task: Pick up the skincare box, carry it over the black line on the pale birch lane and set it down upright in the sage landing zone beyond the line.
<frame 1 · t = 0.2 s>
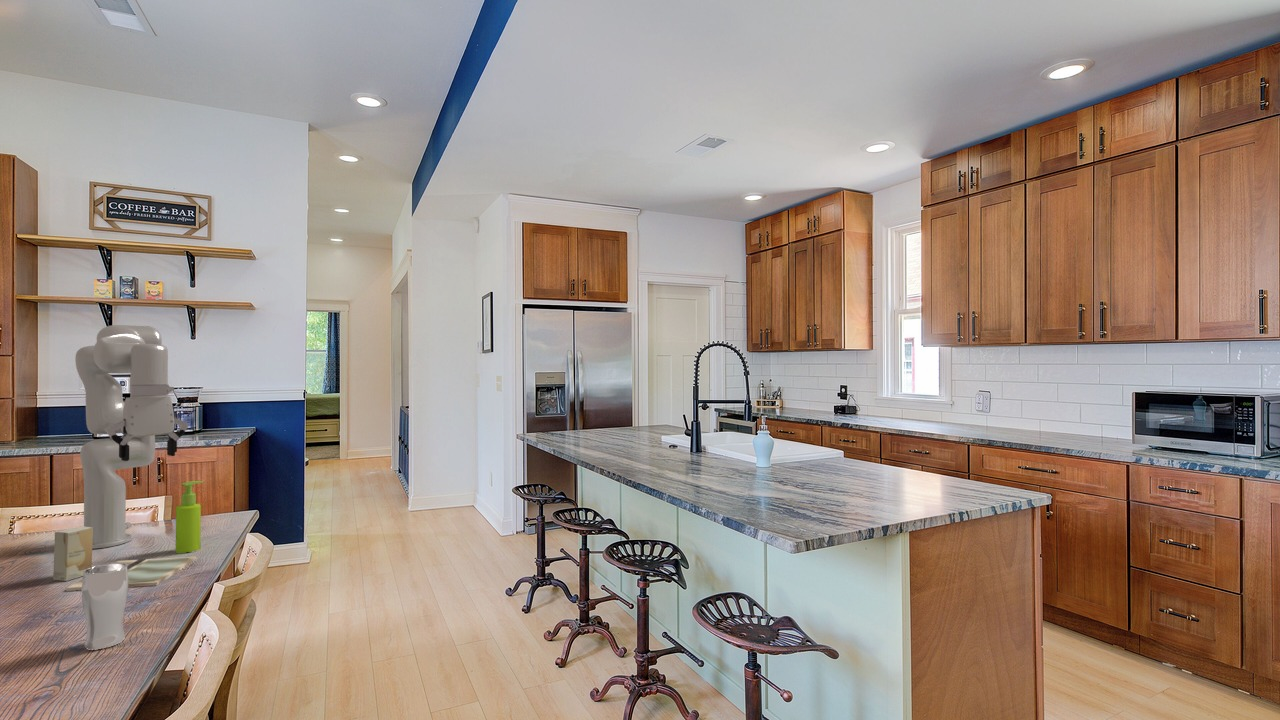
hand: (148, 457, 157), 31 cm above the table, tool pointing down, fingers open, 9 cm apart
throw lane: (136, 574, 159), on the table
beer glass: (105, 644, 120), on the table
skincare box: (73, 577, 156), on the table
soap dispenser: (189, 550, 179), on the table
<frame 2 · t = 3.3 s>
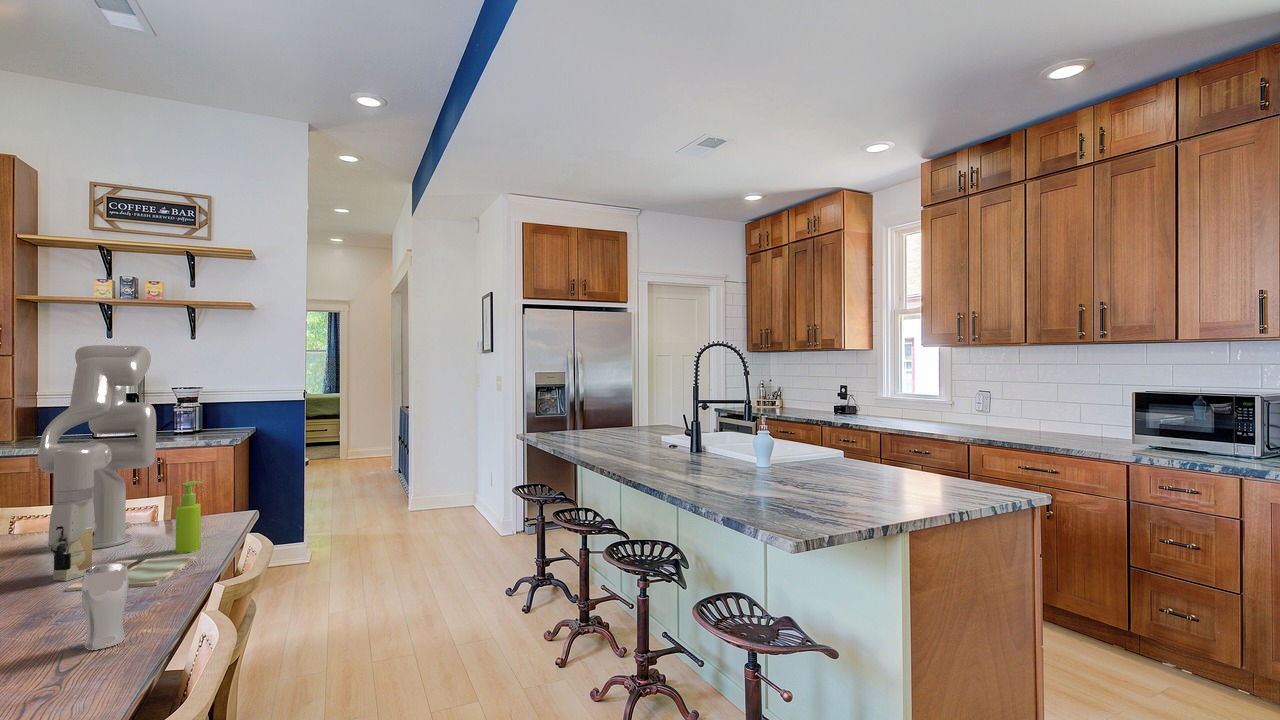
hand: (73, 564, 156), 3 cm above the table, tool pointing down, fingers closed on skincare box, 7 cm apart
skincare box: (73, 577, 156), on the table, touching gripper
everything else where it was.
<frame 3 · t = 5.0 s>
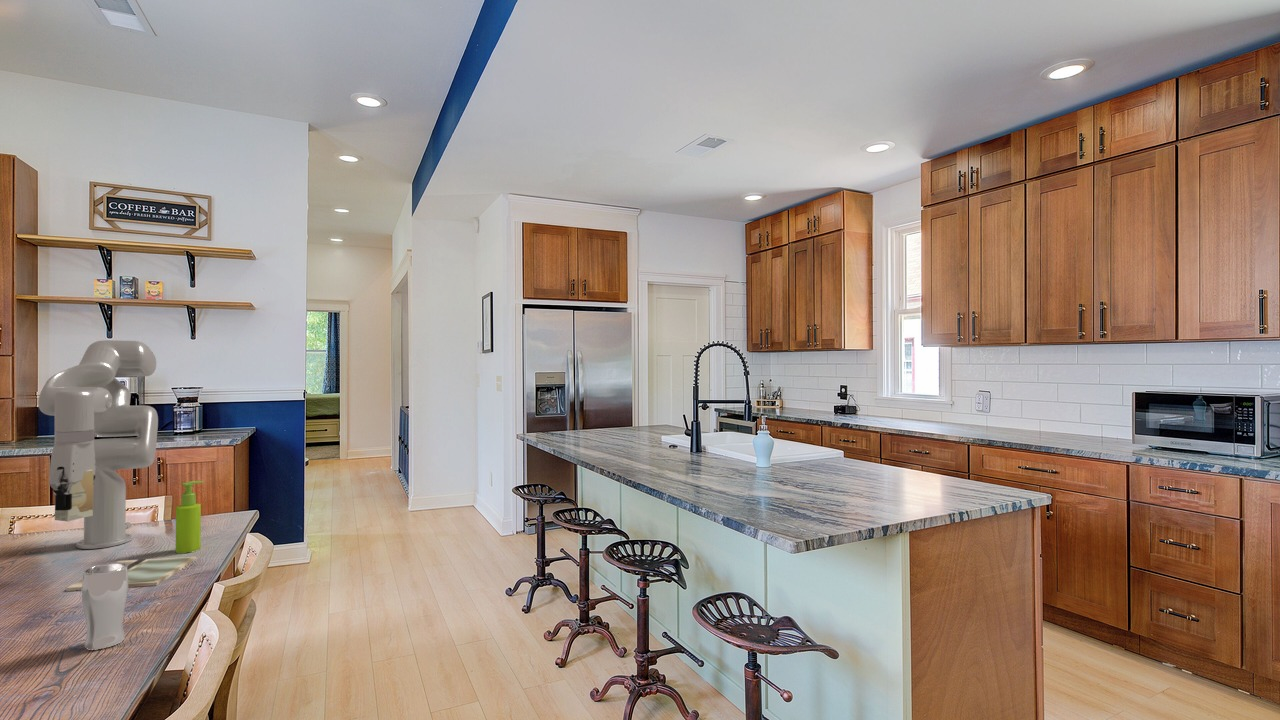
hand: (74, 505, 157), 18 cm above the table, tool pointing down, fingers closed on skincare box, 7 cm apart
skincare box: (74, 518, 157), point 15 cm above the table, touching gripper
everything else where it was.
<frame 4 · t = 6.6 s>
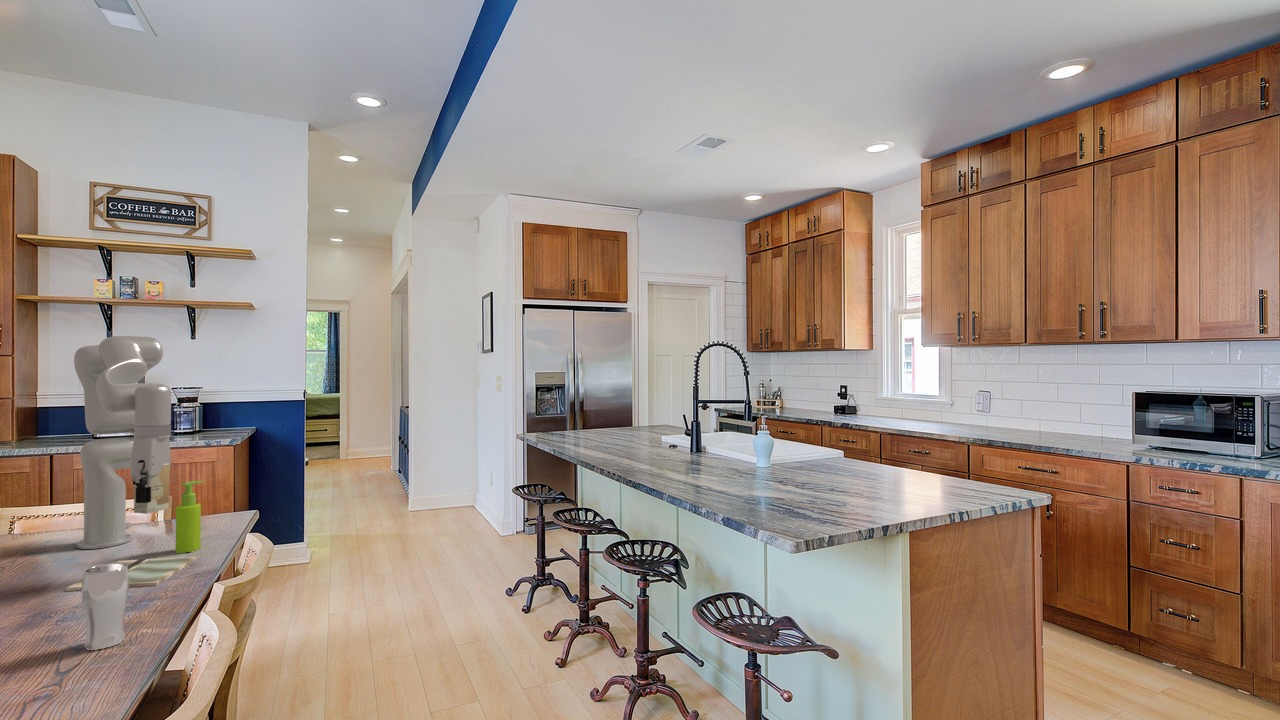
hand: (152, 498, 160), 19 cm above the table, tool pointing down, fingers closed on skincare box, 7 cm apart
skincare box: (152, 511, 160), point 16 cm above the table, touching gripper
everything else where it was.
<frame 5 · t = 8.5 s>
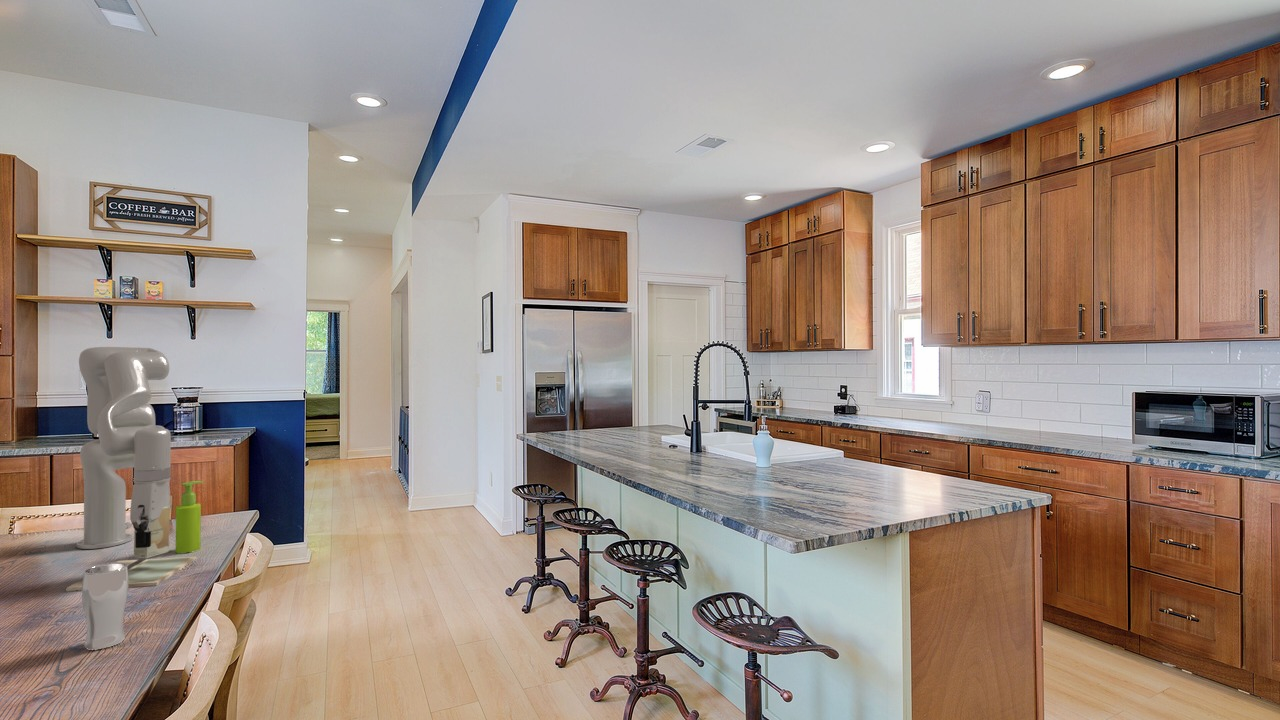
hand: (151, 542, 160), 8 cm above the table, tool pointing down, fingers closed on skincare box, 7 cm apart
skincare box: (151, 555, 160), point 4 cm above the table, touching gripper
everything else where it was.
when the fingers open (5 cm above the table, at t = 10.0 s): skincare box drops 1 cm, resting on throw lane.
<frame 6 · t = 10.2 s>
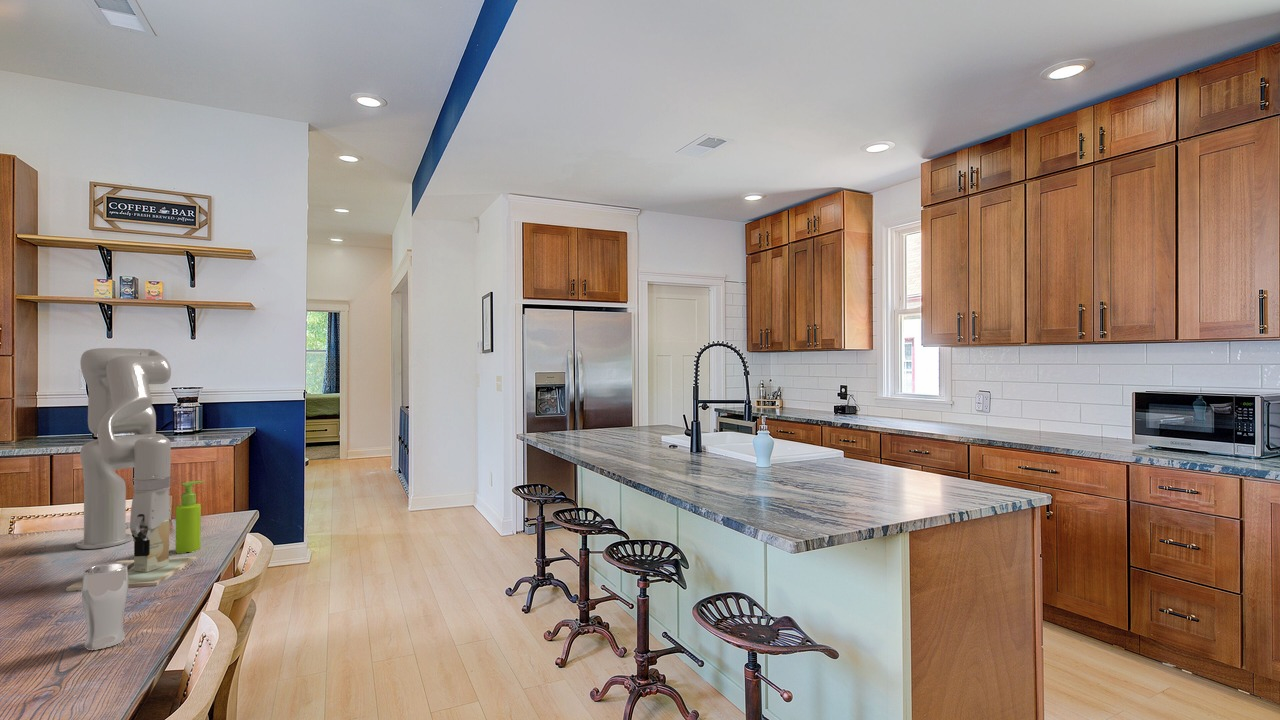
hand: (151, 550, 160), 6 cm above the table, tool pointing down, fingers open, 8 cm apart
skincare box: (151, 568, 161), point 1 cm above the table, touching gripper, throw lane
everything else where it was.
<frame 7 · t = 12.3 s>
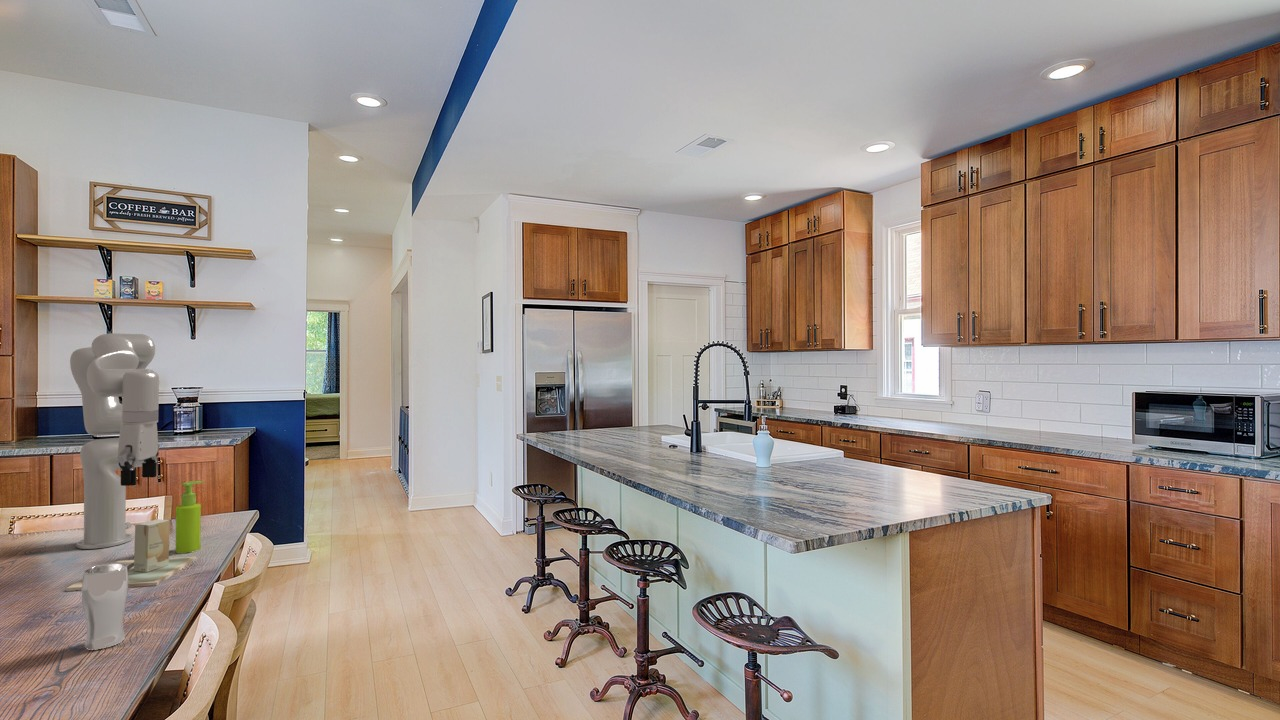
hand: (139, 481, 163), 24 cm above the table, tool pointing down, fingers open, 9 cm apart
skincare box: (151, 568, 161), point 1 cm above the table, touching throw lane
everything else where it was.
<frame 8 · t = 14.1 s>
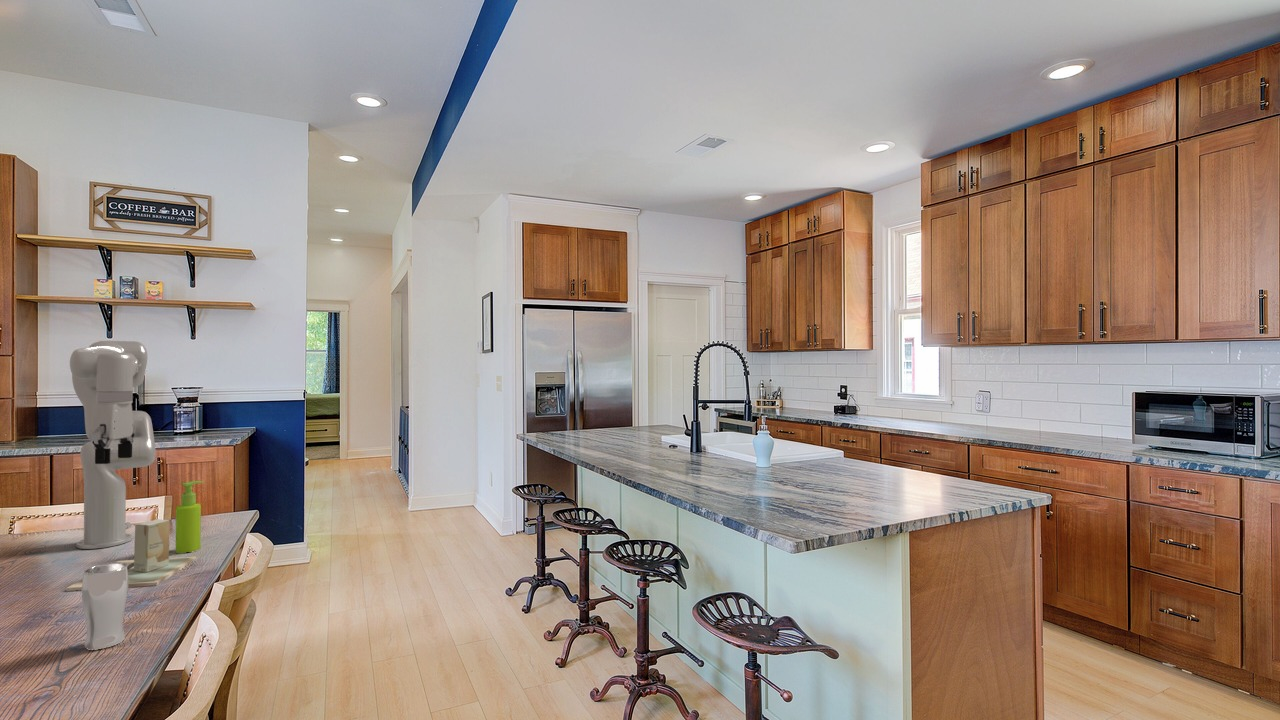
hand: (114, 460, 166), 28 cm above the table, tool pointing down, fingers open, 9 cm apart
nothing on the table moved.
at the end: skincare box inside the target area (1.9 cm from its centre), point 0.7 cm above the table; skincare box tilted 0°; the gripper is holding nothing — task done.
